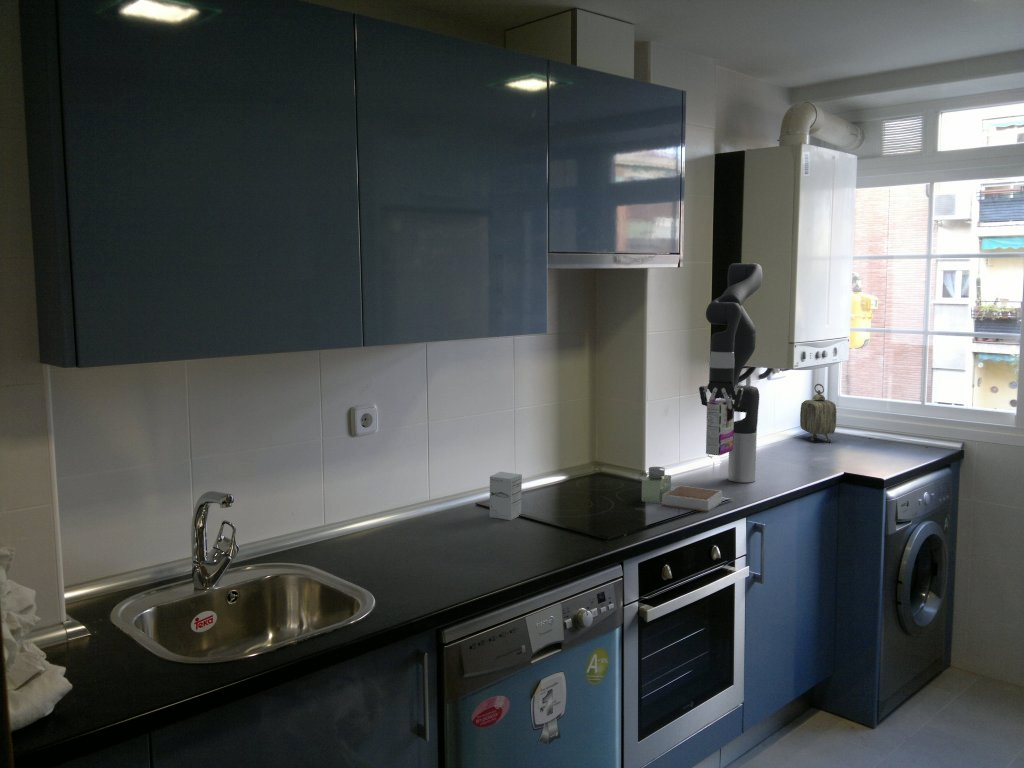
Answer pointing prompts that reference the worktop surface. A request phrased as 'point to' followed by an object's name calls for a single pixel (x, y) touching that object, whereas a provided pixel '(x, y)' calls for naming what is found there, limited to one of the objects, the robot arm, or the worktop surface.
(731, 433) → the candy bar box
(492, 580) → the worktop surface
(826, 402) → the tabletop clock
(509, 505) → the supplement box
